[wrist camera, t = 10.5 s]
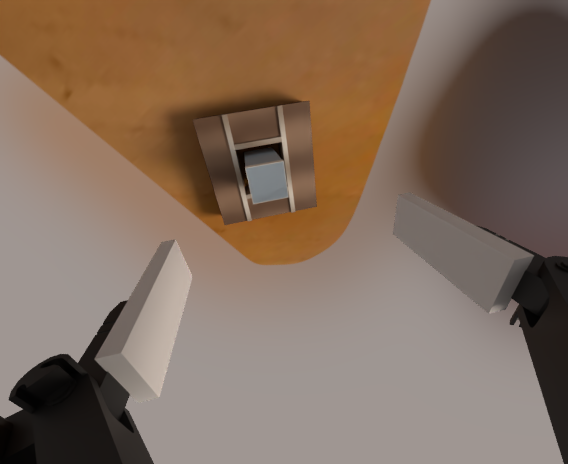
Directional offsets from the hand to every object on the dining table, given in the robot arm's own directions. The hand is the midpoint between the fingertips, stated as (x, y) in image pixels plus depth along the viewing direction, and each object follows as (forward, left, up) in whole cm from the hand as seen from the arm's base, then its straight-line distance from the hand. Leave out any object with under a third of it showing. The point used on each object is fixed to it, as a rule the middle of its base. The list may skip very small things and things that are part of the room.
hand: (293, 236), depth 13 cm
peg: (+1, 0, -23) cm, 23 cm away
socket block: (+1, 0, -23) cm, 23 cm away
